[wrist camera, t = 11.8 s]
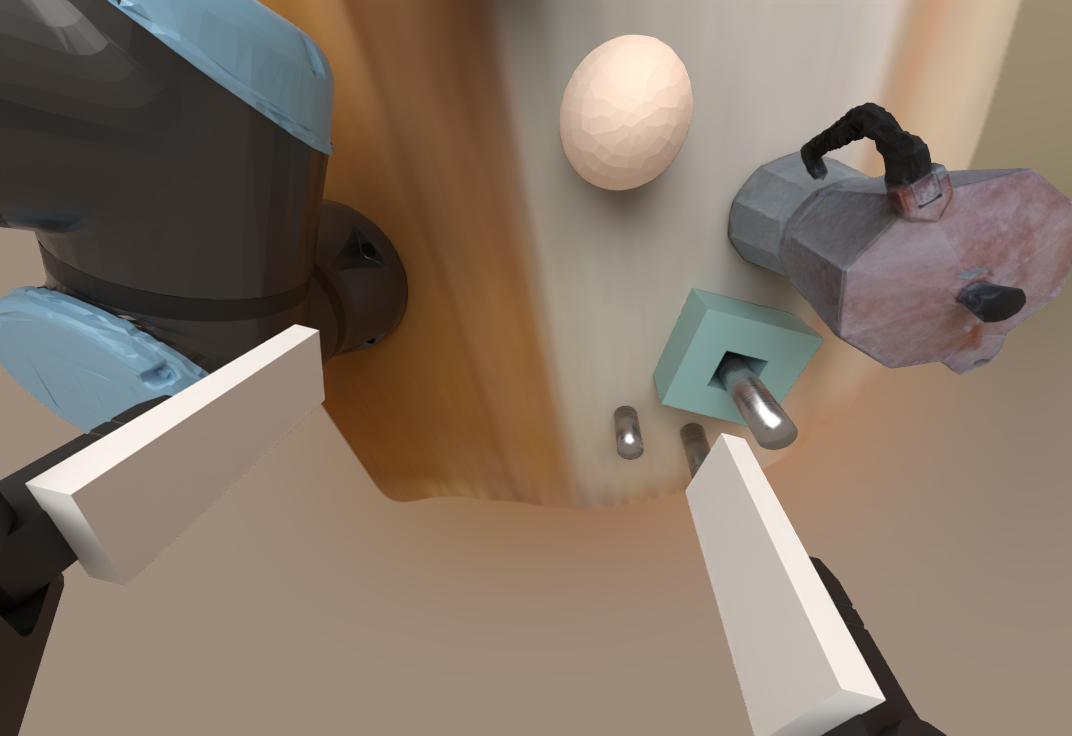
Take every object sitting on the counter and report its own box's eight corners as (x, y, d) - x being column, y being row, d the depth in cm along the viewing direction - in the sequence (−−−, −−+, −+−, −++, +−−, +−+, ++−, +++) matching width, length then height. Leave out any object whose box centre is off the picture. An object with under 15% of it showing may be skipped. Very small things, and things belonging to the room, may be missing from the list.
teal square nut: (653, 374, 41) (661, 404, 36) (692, 288, 36) (707, 308, 31) (742, 397, 41) (761, 429, 36) (793, 314, 36) (824, 338, 31)
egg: (541, 124, 31) (519, 110, 21) (628, 24, 27) (650, -48, 18) (609, 207, 33) (617, 230, 24) (696, 126, 30) (749, 113, 20)
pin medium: (676, 436, 45) (693, 505, 36) (687, 420, 43) (708, 488, 35) (696, 443, 45) (718, 514, 36) (708, 428, 44) (734, 497, 35)
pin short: (611, 420, 45) (614, 455, 40) (618, 403, 44) (622, 437, 38) (632, 426, 45) (638, 462, 40) (640, 409, 44) (647, 444, 38)
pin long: (711, 332, 38) (768, 416, 26) (736, 339, 38) (805, 425, 26) (700, 354, 39) (749, 444, 27) (724, 360, 39) (784, 453, 27)
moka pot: (769, 310, 36) (934, 455, 19) (675, 180, 32) (778, 215, 15) (879, 240, 32) (1213, 343, 15) (788, 80, 28) (1113, -34, 11)
